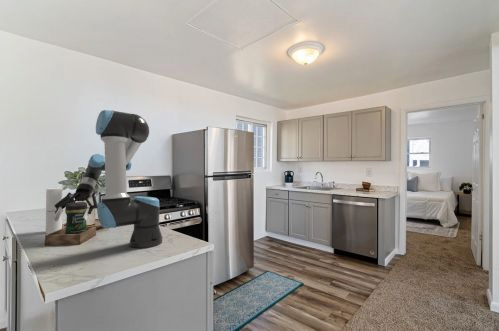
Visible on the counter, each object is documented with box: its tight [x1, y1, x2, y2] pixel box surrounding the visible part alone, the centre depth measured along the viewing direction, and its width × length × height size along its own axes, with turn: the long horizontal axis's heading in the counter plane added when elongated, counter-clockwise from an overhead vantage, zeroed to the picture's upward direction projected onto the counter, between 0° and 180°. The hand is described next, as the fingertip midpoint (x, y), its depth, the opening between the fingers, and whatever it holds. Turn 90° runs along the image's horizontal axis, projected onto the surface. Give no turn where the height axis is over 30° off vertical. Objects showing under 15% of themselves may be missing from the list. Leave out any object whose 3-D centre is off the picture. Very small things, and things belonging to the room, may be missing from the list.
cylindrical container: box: [45, 187, 63, 235], centre depth 139 cm, size 7×7×25 cm
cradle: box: [44, 226, 97, 246], centre depth 124 cm, size 16×16×5 cm
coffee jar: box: [64, 201, 88, 234], centre depth 125 cm, size 10×8×19 cm
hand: (70, 219), depth 122 cm, fingers open, 13 cm apart
